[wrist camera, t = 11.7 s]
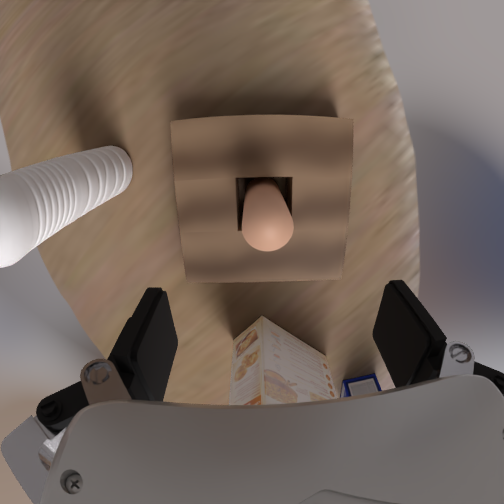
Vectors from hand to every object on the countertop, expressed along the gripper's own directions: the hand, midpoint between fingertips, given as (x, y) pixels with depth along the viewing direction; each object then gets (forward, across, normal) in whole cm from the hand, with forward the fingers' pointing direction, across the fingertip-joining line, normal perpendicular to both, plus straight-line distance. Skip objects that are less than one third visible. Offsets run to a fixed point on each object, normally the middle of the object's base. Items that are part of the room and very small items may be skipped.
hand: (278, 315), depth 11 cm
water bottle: (+23, +20, -4) cm, 31 cm away
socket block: (+23, 0, 0) cm, 23 cm away
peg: (+23, 0, 0) cm, 23 cm away
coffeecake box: (+23, -3, +26) cm, 34 cm away
